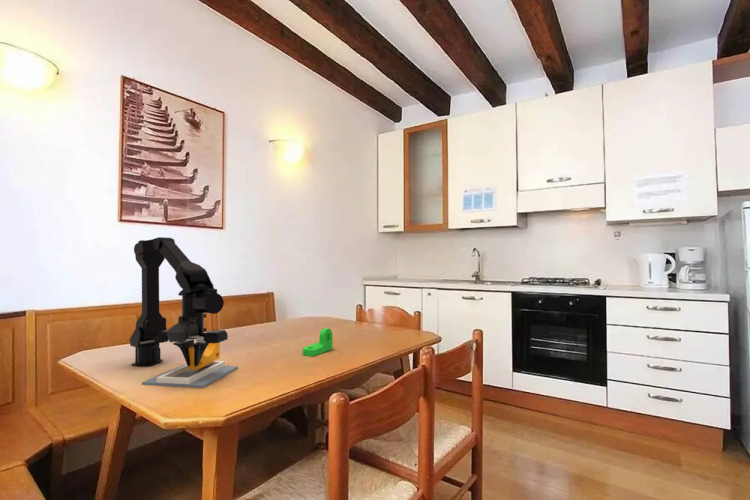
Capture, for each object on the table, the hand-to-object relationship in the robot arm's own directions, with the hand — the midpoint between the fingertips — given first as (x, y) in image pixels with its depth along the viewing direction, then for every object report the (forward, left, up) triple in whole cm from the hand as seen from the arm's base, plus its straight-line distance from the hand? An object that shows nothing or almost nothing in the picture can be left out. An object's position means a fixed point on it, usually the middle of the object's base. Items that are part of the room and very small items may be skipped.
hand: (192, 365), depth 112 cm
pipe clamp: (-1, +6, -1) cm, 6 cm away
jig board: (0, 0, -3) cm, 3 cm away
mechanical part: (+26, +35, -4) cm, 43 cm away
